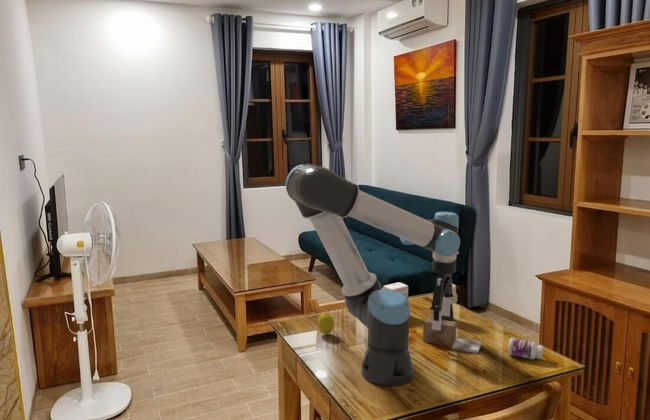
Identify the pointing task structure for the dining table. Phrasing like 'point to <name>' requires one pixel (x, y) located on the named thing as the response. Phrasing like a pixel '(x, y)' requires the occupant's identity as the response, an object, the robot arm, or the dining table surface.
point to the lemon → (325, 323)
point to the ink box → (397, 288)
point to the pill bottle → (524, 349)
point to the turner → (448, 336)
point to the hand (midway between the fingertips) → (441, 322)
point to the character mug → (453, 300)
